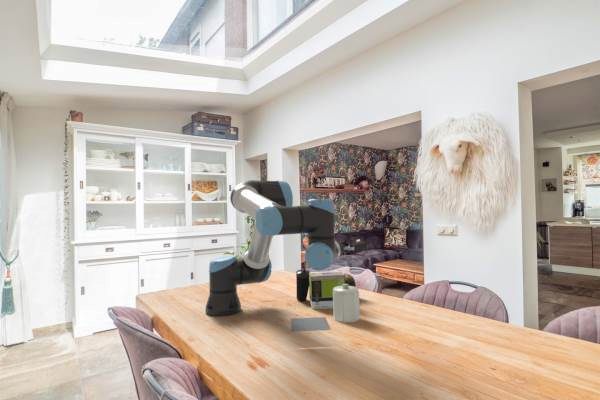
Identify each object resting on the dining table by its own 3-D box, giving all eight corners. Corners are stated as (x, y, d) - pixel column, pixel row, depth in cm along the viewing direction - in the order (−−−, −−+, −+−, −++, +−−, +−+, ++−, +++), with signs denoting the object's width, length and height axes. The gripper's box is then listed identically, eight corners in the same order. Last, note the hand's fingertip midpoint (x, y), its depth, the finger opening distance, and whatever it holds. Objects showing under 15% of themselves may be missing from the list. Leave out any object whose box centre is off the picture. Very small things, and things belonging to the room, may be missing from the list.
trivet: (291, 332, 118) (291, 331, 118) (290, 319, 132) (290, 318, 132) (330, 330, 119) (330, 329, 119) (325, 318, 133) (325, 317, 133)
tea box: (341, 301, 155) (340, 270, 155) (345, 308, 145) (345, 274, 145) (309, 302, 154) (308, 271, 154) (311, 310, 144) (310, 276, 144)
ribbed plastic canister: (336, 323, 126) (335, 287, 126) (332, 315, 136) (331, 282, 136) (361, 322, 126) (360, 286, 127) (355, 314, 136) (355, 281, 136)
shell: (331, 300, 158) (330, 275, 158) (335, 295, 168) (335, 271, 168) (354, 302, 154) (353, 276, 155) (357, 296, 165) (356, 272, 165)
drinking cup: (291, 295, 161) (294, 258, 155) (304, 292, 165) (308, 256, 159) (297, 304, 155) (301, 266, 149) (312, 301, 158) (316, 264, 152)
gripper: (290, 261, 106) (308, 252, 126) (370, 263, 98) (375, 253, 119) (290, 237, 106) (308, 232, 126) (369, 238, 99) (375, 232, 119)
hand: (340, 242), depth 123 cm, fingers open, 13 cm apart
